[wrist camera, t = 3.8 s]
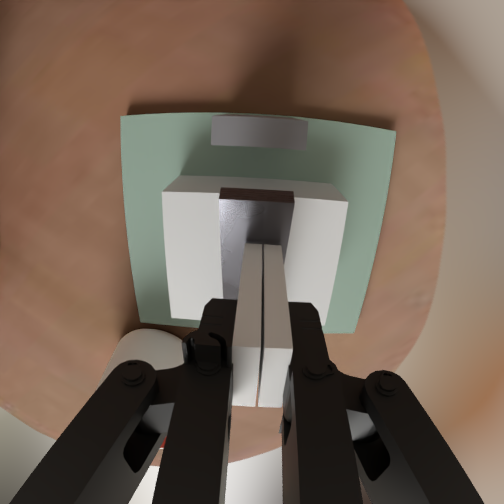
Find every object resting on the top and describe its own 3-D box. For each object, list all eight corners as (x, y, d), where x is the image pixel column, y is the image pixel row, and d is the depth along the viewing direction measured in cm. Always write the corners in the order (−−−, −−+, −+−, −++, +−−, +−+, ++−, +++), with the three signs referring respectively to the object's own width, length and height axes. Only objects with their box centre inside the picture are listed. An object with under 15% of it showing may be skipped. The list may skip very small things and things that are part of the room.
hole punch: (143, 315, 31) (116, 373, 24) (126, 115, 23) (72, 122, 15) (351, 325, 32) (372, 386, 24) (390, 130, 23) (444, 143, 15)
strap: (219, 352, 25) (218, 365, 24) (204, 183, 13) (200, 201, 12) (272, 355, 25) (272, 368, 24) (309, 189, 13) (312, 207, 12)
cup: (149, 307, 31) (118, 377, 22) (219, 360, 34) (210, 433, 25) (106, 349, 34) (76, 410, 25) (168, 393, 37) (152, 456, 28)
